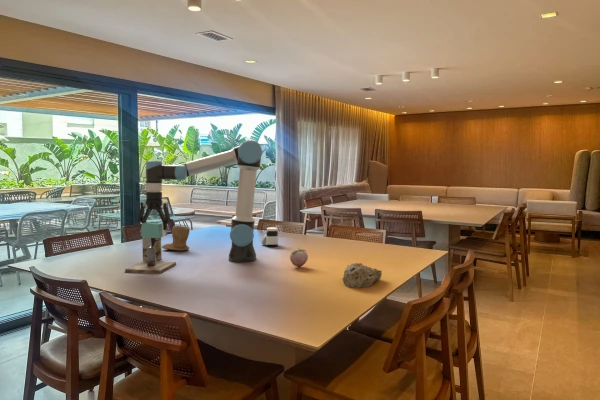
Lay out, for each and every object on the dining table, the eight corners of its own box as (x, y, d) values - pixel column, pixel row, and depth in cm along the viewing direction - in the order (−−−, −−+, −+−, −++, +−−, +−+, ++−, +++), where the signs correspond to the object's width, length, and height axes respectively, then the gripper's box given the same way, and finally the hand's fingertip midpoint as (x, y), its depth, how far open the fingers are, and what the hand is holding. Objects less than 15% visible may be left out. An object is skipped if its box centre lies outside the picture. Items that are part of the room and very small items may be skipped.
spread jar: (277, 247, 267) (277, 229, 266) (259, 247, 267) (259, 229, 266) (278, 244, 279) (278, 226, 278) (261, 243, 279) (261, 226, 278)
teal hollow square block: (167, 235, 217) (166, 221, 216) (158, 238, 208) (158, 224, 208) (150, 234, 218) (150, 221, 218) (141, 237, 209) (141, 223, 209)
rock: (352, 277, 201) (358, 257, 200) (381, 288, 194) (387, 268, 193) (335, 282, 183) (341, 261, 182) (365, 295, 176) (372, 273, 175)
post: (157, 267, 214) (156, 246, 213) (153, 269, 210) (152, 247, 209) (149, 267, 215) (149, 245, 214) (145, 269, 211) (145, 247, 210)
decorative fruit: (299, 264, 221) (299, 245, 220) (310, 267, 216) (310, 247, 215) (286, 267, 215) (286, 248, 214) (297, 270, 209) (297, 250, 208)
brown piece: (194, 249, 261) (193, 225, 260) (181, 252, 250) (180, 227, 249) (174, 247, 267) (174, 223, 266) (161, 250, 256) (160, 226, 255)
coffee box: (153, 262, 225) (152, 232, 224) (142, 261, 227) (141, 232, 225) (162, 258, 234) (161, 230, 233) (151, 258, 235) (150, 229, 234)
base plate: (176, 264, 220) (176, 261, 220) (160, 273, 202) (160, 270, 202) (143, 263, 223) (143, 260, 222) (125, 272, 205) (125, 269, 205)
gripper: (177, 191, 213) (178, 235, 215) (137, 190, 217) (138, 233, 218) (171, 192, 206) (171, 238, 208) (129, 191, 209) (130, 236, 211)
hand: (154, 235), depth 213 cm, fingers closed on teal hollow square block, 9 cm apart
